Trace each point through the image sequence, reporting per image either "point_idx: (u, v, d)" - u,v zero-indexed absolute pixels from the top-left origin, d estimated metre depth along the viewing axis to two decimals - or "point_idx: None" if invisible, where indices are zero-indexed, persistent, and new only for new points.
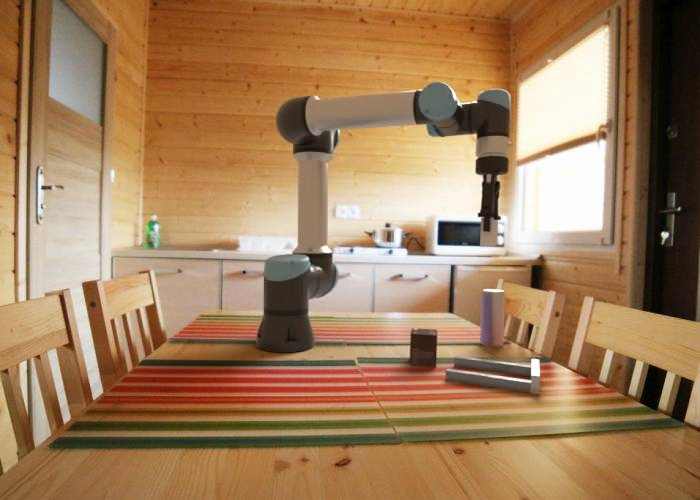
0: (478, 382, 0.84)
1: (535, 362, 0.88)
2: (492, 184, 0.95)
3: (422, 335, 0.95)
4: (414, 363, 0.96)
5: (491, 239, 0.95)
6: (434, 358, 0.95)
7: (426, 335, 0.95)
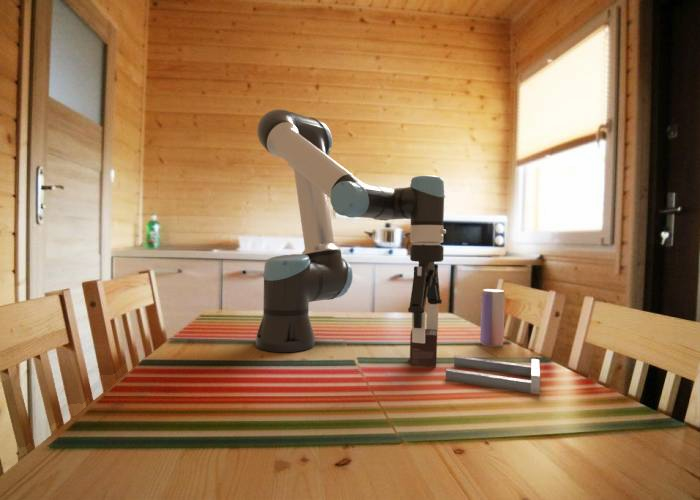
0: (478, 382, 0.84)
1: (535, 362, 0.88)
2: (422, 278, 0.91)
3: None
4: (414, 363, 0.96)
5: (423, 336, 0.91)
6: (434, 358, 0.95)
7: (426, 335, 0.95)
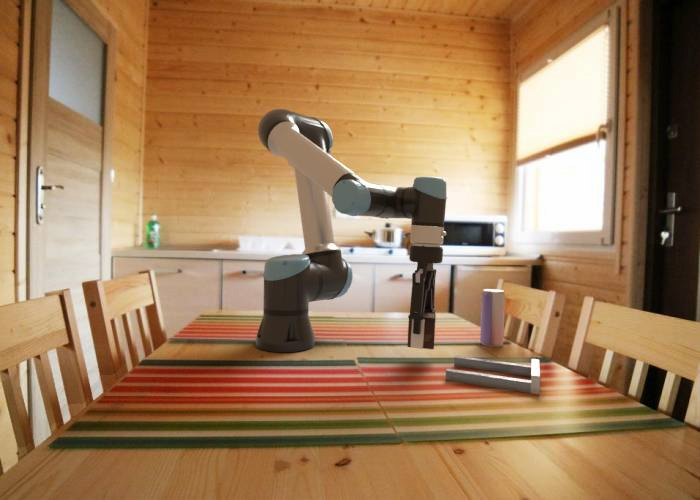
0: (478, 382, 0.84)
1: (535, 362, 0.88)
2: (421, 286, 0.92)
3: None
4: None
5: (421, 342, 0.95)
6: (432, 341, 0.95)
7: (424, 318, 0.95)
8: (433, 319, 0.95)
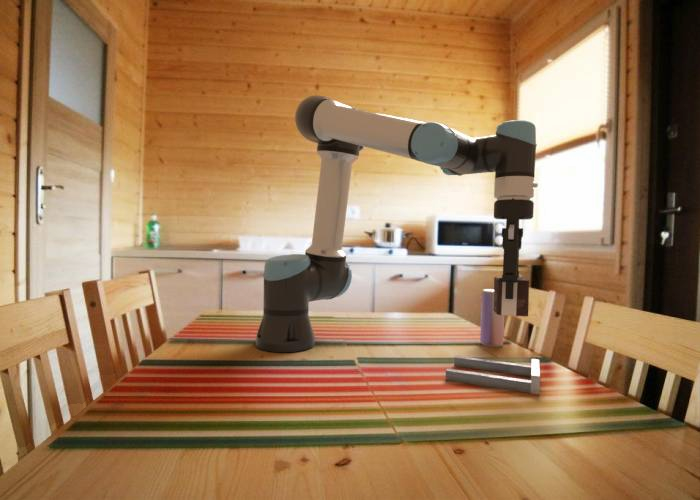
0: (478, 382, 0.84)
1: (535, 362, 0.88)
2: (515, 242, 0.80)
3: None
4: None
5: (515, 308, 0.83)
6: (526, 307, 0.83)
7: (516, 281, 0.84)
8: (527, 282, 0.83)
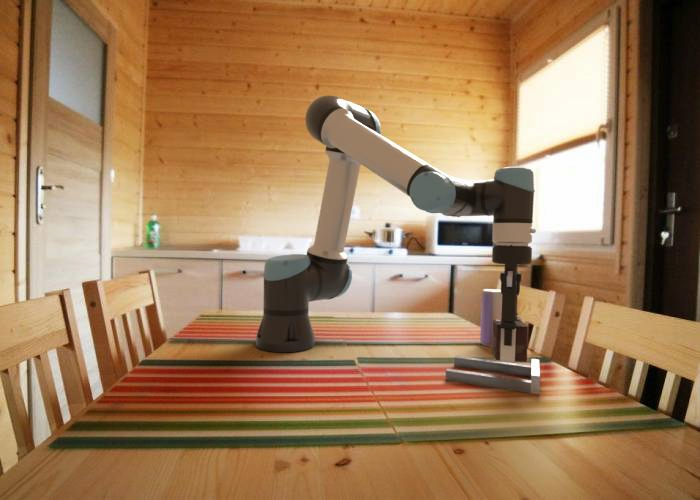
0: (478, 382, 0.84)
1: (535, 362, 0.88)
2: (514, 290, 0.81)
3: None
4: None
5: (513, 354, 0.83)
6: (524, 352, 0.84)
7: None
8: (525, 328, 0.84)
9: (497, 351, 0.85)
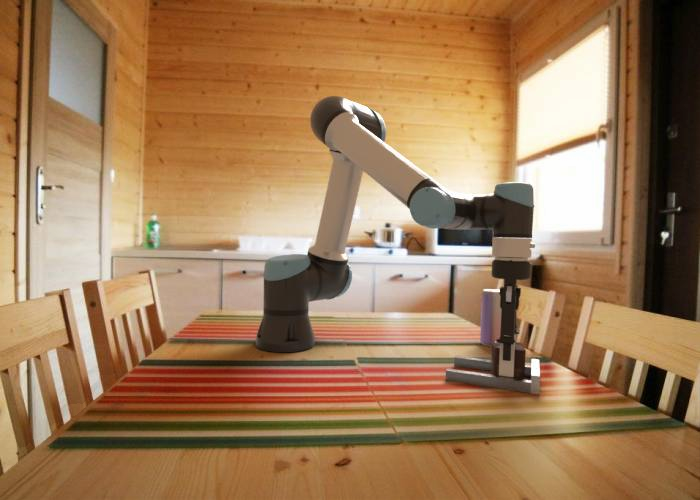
0: (478, 382, 0.84)
1: (535, 362, 0.88)
2: (513, 305, 0.81)
3: None
4: None
5: (512, 369, 0.83)
6: (522, 376, 0.84)
7: None
8: (523, 351, 0.84)
9: (495, 374, 0.85)
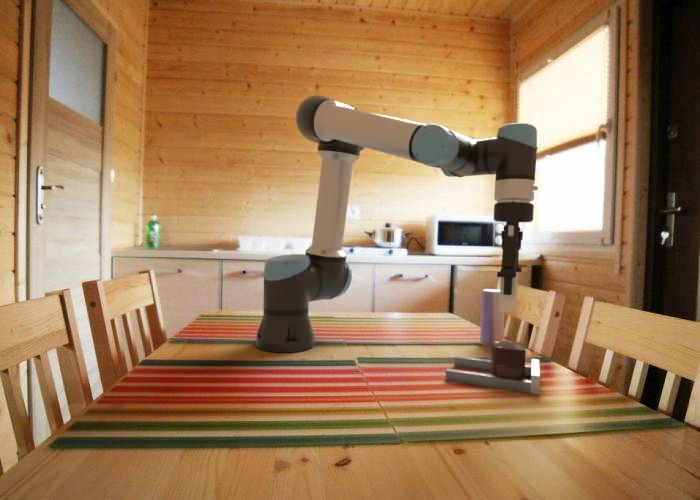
0: (478, 382, 0.84)
1: (535, 362, 0.88)
2: (515, 238, 0.80)
3: (508, 350, 0.85)
4: None
5: (513, 304, 0.80)
6: (522, 376, 0.84)
7: (513, 350, 0.84)
8: (523, 351, 0.84)
9: (495, 374, 0.85)
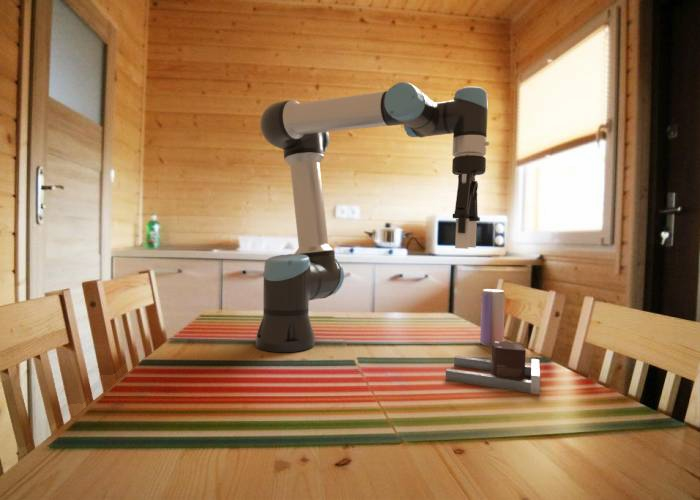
0: (478, 382, 0.84)
1: (535, 362, 0.88)
2: (467, 184, 0.92)
3: (508, 350, 0.84)
4: None
5: (466, 241, 0.93)
6: (522, 376, 0.84)
7: (513, 350, 0.84)
8: (523, 351, 0.84)
9: (495, 374, 0.85)
